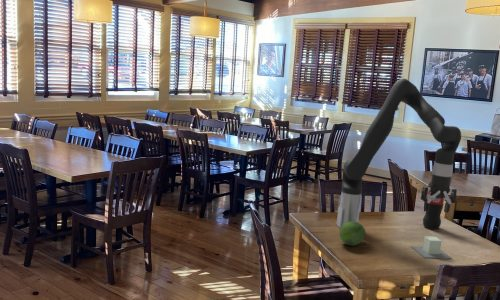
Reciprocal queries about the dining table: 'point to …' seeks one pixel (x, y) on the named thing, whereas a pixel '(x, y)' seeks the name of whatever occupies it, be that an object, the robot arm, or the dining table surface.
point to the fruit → (352, 233)
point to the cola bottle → (433, 213)
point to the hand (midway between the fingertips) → (436, 211)
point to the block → (432, 245)
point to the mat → (426, 255)
